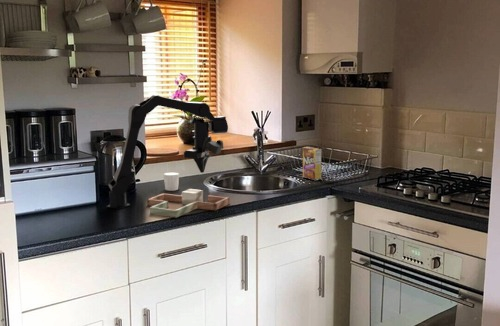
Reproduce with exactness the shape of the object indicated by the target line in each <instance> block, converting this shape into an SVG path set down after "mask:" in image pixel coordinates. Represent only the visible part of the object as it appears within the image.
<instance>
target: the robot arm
mask: <svg viewBox="0 0 500 326" xmlns="http://www.w3.org/2000/svg"><path fill="white" fill-rule="evenodd" d="M159 106H160V107H164V108H169V109H172V110H173V109H174V110H178V111H183V112H186V113H188V114H191V115H193V117H192V118H191V119H190V120H189V121H188V122H189V123H190V124H194V127H193V129H194V136H192V137H191V138H192V140H193V141H194V146H192V149H186V150H184V152H183V158H186V159H192V160H193V161H194V162H195V164H196V166H197V168H198V170H199V172H200V173H205V171H206V170H205V169H206V165H207V163H208V161H209V158H211V157H212V156H213V155H217V154H221V151H222V150H223V149H224V142H223V140H221V139H218V140H217V141H215V140H212V136H210V133H209V132H211V134H214V135H215V134H227V133H228V130H229V125H228V122H227V117H226V116H224V115H222V116H214V114H213V113H212V112H211V107H210V106H209V104H208V103H204V102H200V101H183V100H180V99H179V100H178V99H173V98H169V97H164V96H161V95H158V94H153V95H151V96H150V97H148V98H146V99H145V100H143V101H141V102H139V103H138V104H136V103H135V104H132V105H130V106H129V109H128V114H127V115H128V117H127V119H128V129H127V132H126V137H125V142H124V147H123V150H122V156H121V161H120V163H119V164H118V166H117V168H116V171H115V173H114V175H113V179H112V180H111V181H109V183H108V187H109V189H110V191H108V194H109V204H108V205H106V208H110V209H116V210H117V209H118V210H121V209H124V208H127V207H129V206H131V204H130V203H128V195H127V190H128V187H130V186H131V184H132V183H134V177H135V174H136V171H135V170H134V169H133V167H132V164H133V159H134V155H135V150H136V147H137V142H138V137H139V133H140V129H141V128H142V126H143V124H144V123H145V119H146V117H147V115H148V114H150V113H151V112H152V111H153V110H154V109H156V108H157V107H159ZM194 116H195V117H194ZM196 117H199V118H196ZM204 119H206V120H204ZM210 152H211V153H212V154H210Z"/></svg>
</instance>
